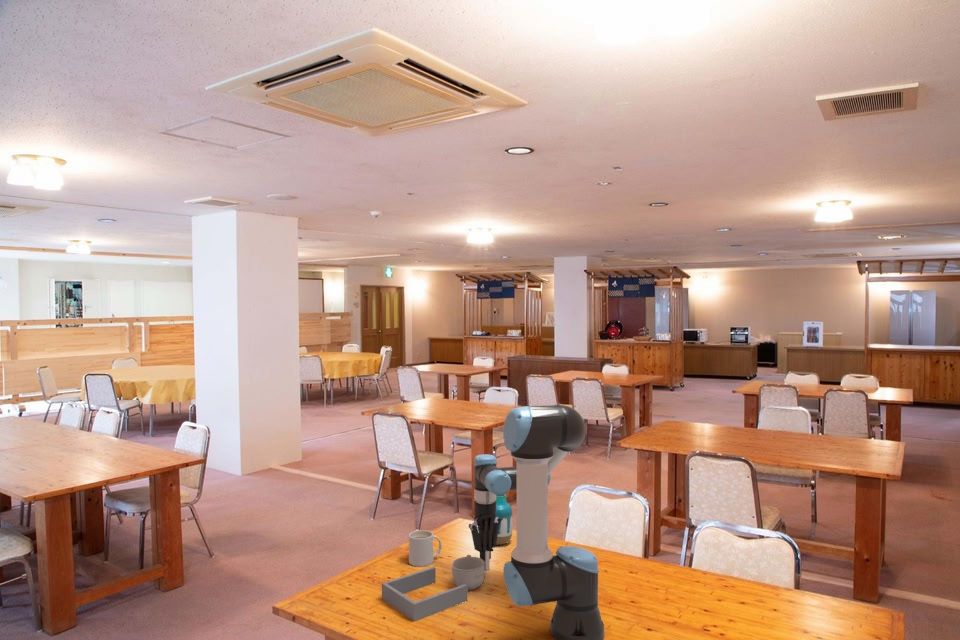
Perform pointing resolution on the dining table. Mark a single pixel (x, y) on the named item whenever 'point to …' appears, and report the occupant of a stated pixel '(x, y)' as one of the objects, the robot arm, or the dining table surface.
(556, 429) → the robot arm
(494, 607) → the dining table surface
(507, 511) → the vase
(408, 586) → the box
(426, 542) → the mug
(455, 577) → the teacup
